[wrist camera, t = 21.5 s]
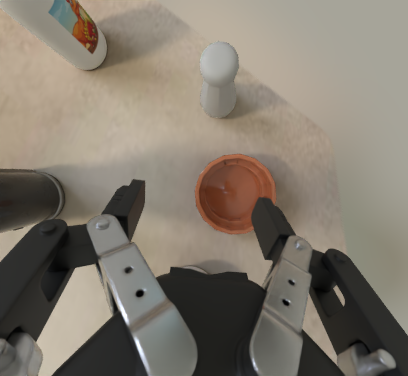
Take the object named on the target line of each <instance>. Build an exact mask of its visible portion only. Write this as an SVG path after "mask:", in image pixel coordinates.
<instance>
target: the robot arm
mask: <svg viewBox="0 0 408 376" xmlns="http://www.w3.org/2000/svg"><path fill="white" fill-rule="evenodd" d="M144 203H145V181H143V180H136V179H133V180H132V182H131V183H130V185H129V186H122V187H120V188H119V189H117V191H116V192H115V194H114V196H113V197H112V199H111V200H110V202H109V203H108V205H107V206H106V208H105V209H104V211H103V212H102V214H101V215H98V216H95V217H93V218H92V219H91V220H89V222H88V223H87V224H83V225H75V226H67V223H66V222H65V221H63V220H60V219H54V218H55V217H56V216H57V215H58V214H59V213H60V212H61V210H62V208H63V205H64V192H63V189H62V187H61V185H60V184H59V182H58V181H57V180H56V179H55V178H54V177H52V176H51V175H49V174H46V173H42V172H34V171H33V170H26V169H0V233H3V232H7V231H10V230H18V229H21V228H23V227H25V226H29V225H33V224H36V223H38V224H36V225H35V226H34V227H32V228H31V229H30V231H29V232H28V233H27V234H26V235H25V236H24V237H23V238H22V239H21V240H20V241H19V242H18V243H17V245H16V246H15V247H14V248H13V249H12V250H11V251H10V252H9V253H8V254H7V255H6V256H5V257H4V259H3V260H2V261H1V262H0V376H38V373H39V370H40V367H41V364H42V360H43V354H42V351H41V349H40V347H39V346H38V345H37V344H36V341H37V339H38V337H39V336H40V334H41V332H42V330H43V328H44V326H45V324H46V322H47V320H48V319H49V317H50V315H51V313H52V311H53V309H54V307H55V305H56V303H57V302H58V300H59V298H60V296H61V294H62V292H63V290H64V288H65V287H66V285H67V283H68V281H69V279H70V277H71V275H72V273H73V271H74V270H75V268H76V267H82V266H87V265H92V264H95V267H96V269H97V272H98V275H99V278H100V280H101V283H102V286H103V289H104V292H105V295H106V299H107V302H108V305H109V308H110V311H111V314H112V317H111V318H110V319H109V320H108V321H107V322H106V323H105V324H104V325H103V326H102V327H101V328H100V329H99V330H98V331H97V332H96V333H95V334H94V335H93V336H91V337H90V338H89V339H88V340H87V341H86V342H85V343H84V344H83V345H82V346H81V347H80V348H79V349H78V350H77V351H76V352H75V353H74V354H73V355H72V356H71V357H70V358H69V359H68V360H66V361H65V362H64V363H63V364H62V365H61V366H60V367H59V368H58V369H57V370H56V371H55V372H54V374H53V375H52V376H408V336H407V334H406V333H405V331H404V330H403V329H402V327H401V326H400V325H399V323H398V322H397V321H396V319H395V318H394V317H393V316H392V314H391V313H390V311H389V310H388V309H387V308H386V306H385V305H384V303H383V302H382V301H381V299H380V298H379V297H378V295H377V294H376V293H375V291H374V290H373V289H372V287H371V286H370V285H369V283H368V282H367V281H366V279H365V278H364V277H363V275H362V274H361V273H360V271H359V270H358V269H357V267H356V266H355V265H354V263H353V262H352V261H351V259H350V258H349V257H348V256H347V255H345V254H344V253H342V252H341V251H339V250H336V249H328V250H327V251H326V252H325V253H322V252H319V251H316V250H314V249H312V247H311V245H310V244H309V243H308V242H307V241H306V240H305V239H303V238H301V237H299V236H296V234H295V232H294V231H293V229H292V227H291V226H290V224H289V222H287V219H286V217H285V216H284V214H283V212H282V211H281V210H280V209H279V208H278V207H277V206H275V205H274V204H273V202H272V200H271V199H270V198H264V197H259V198H258V199H257V202H256V204H255V206H254V209H253V211H252V214H251V222H252V225H253V228H254V231H255V233H256V236H257V239H258V242H259V245H260V247H261V250H262V253H263V256H264V258H265V260H272V261H273V263H272V265H271V267H270V269H269V271H268V274H267V276H266V278H265V280H264V283H263V285H262V287H261V286H259V285H258V284H256V283H255V282H253V281H250V280H248V277H247V273H239V272H224V273H218V274H213V275H209V274H205V273H202V272H199V271H196V270H193V269H190V268H178V267H171V269H170V273H168V274H164V275H161V276H158V277H156V278H155V276H154V274H153V273H152V271H151V269H150V268H149V266H148V264H147V262H146V261H145V259H144V257H143V256H142V254H141V252H140V250H139V249H138V247H137V245H136V244H135V243H134V242H132V243H130V242H131V240H132V237H133V234H134V232H135V229H136V226H137V224H138V221H139V218H140V216H141V213H142V211H143V208H144ZM336 285H337V286H338V288H339V289H340V291H341V293H342V294H343V296H344V299H345V305H344V307H343V305H342V303H341V302H340V300H339V298H338V296H337V295H336V293H335V291H334V289H333V288H334V287H335V286H336ZM308 293H309V294H310V296H311V299H312V301H313V303H314V305H315V308H316V310H317V312H318V314H319V316H320V319H321V321H322V323H323V325H324V328H325V330H326V332H327V334H328V337H329V339H330V341H331V343H332V345H333V348H334V350H335V352H336V354H337V365H338V366H337V365H336V364H335V363H334V362H333V361H332V360H331V359H330V358H329V357H328V356H327V355H326V354H325V353H324V351H323V350H322V349H321V348H320V347H319V346H318V345H317V344H316V343H315V342H314V341H313V340H312V339H311V338H310V337H309V336H308V335H307V333H306V332H305V331H304V330H303V329H302V325H303V320H304V315H305V309H306V304H307V299H308Z"/></svg>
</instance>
